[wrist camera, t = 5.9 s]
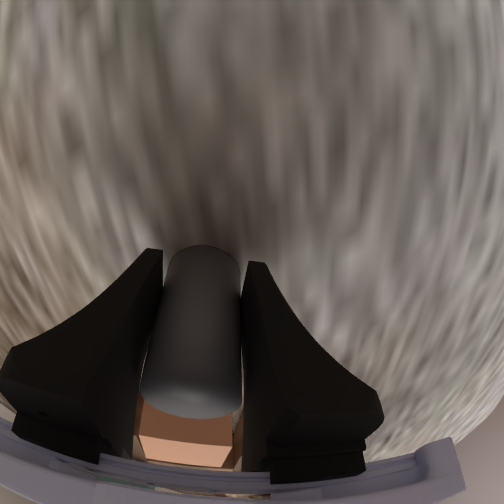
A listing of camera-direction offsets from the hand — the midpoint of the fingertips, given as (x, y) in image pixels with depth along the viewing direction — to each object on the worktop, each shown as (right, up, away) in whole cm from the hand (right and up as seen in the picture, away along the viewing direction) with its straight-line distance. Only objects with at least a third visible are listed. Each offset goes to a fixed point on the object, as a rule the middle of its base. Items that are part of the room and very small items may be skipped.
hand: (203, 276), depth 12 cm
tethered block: (-1, -4, +5) cm, 7 cm away
